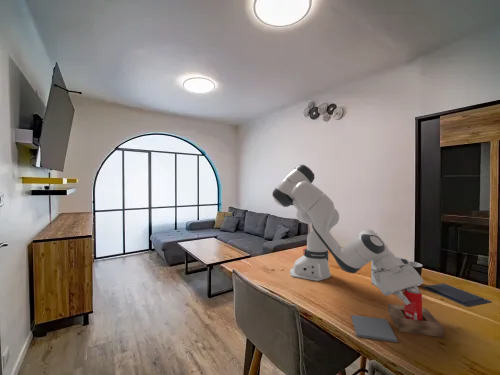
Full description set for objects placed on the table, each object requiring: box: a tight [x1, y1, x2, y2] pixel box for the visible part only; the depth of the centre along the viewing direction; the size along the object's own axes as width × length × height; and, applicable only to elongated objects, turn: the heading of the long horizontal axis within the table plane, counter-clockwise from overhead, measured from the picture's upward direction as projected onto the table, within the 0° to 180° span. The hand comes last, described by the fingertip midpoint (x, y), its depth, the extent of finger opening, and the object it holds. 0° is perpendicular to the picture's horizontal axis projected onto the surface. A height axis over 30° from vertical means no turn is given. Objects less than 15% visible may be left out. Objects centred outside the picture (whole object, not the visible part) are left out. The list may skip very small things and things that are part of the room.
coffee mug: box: [408, 260, 423, 287], centre depth 120 cm, size 12×9×10 cm
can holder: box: [387, 303, 445, 338], centre depth 85 cm, size 13×13×3 cm
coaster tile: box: [350, 314, 398, 343], centre depth 82 cm, size 12×12×1 cm
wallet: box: [421, 283, 493, 308], centre depth 107 cm, size 20×2×15 cm
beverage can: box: [404, 287, 423, 321], centre depth 85 cm, size 5×5×12 cm
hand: (414, 302), depth 84 cm, fingers closed on beverage can, 5 cm apart
